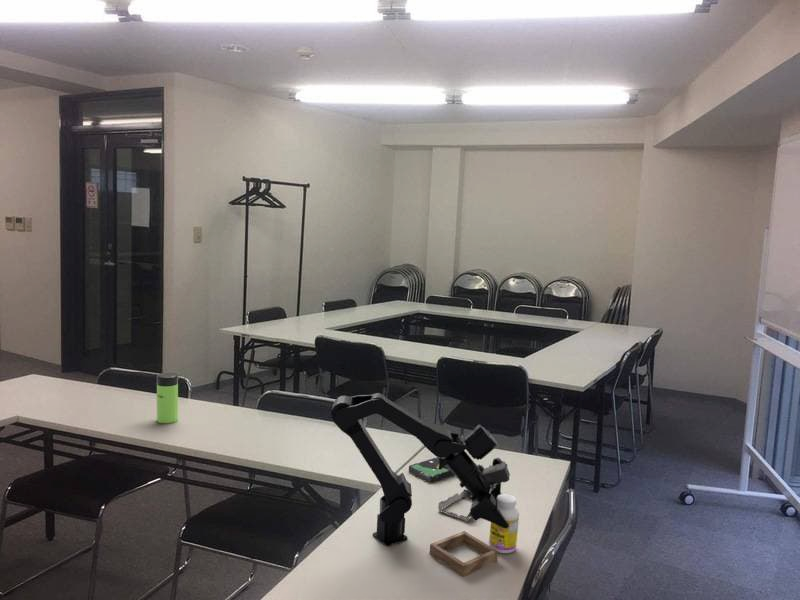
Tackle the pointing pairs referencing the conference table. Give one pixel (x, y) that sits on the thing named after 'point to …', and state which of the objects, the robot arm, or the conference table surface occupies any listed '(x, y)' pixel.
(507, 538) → the supplement bottle
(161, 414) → the tumbler
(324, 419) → the conference table surface
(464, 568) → the brown wooden square frame
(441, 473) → the disk drive
